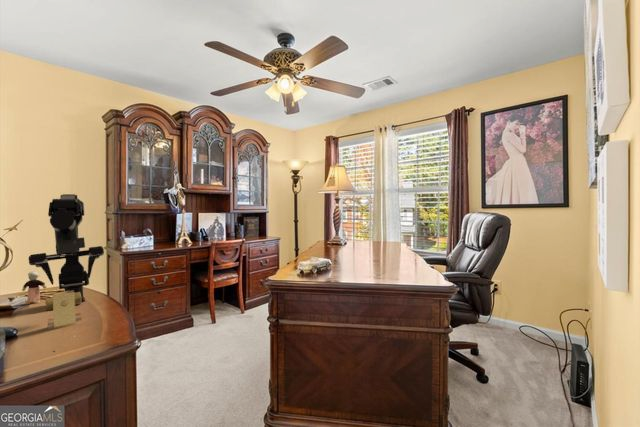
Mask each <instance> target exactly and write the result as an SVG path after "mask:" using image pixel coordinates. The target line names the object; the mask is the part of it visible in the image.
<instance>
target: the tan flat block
mask: <svg viewBox="0 0 640 427" xmlns="http://www.w3.org/2000/svg"><path fill="white" fill-rule="evenodd" d="M81 315H82V314H81V313H75V316H76V324H72V325H68V326H63V327H59V328H54V318H49V319H48V322H47V332H50V331H55V330H59V329H63V328H68V327H73V326H77V325H82V324H83V321H82V316H81Z"/></svg>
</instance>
